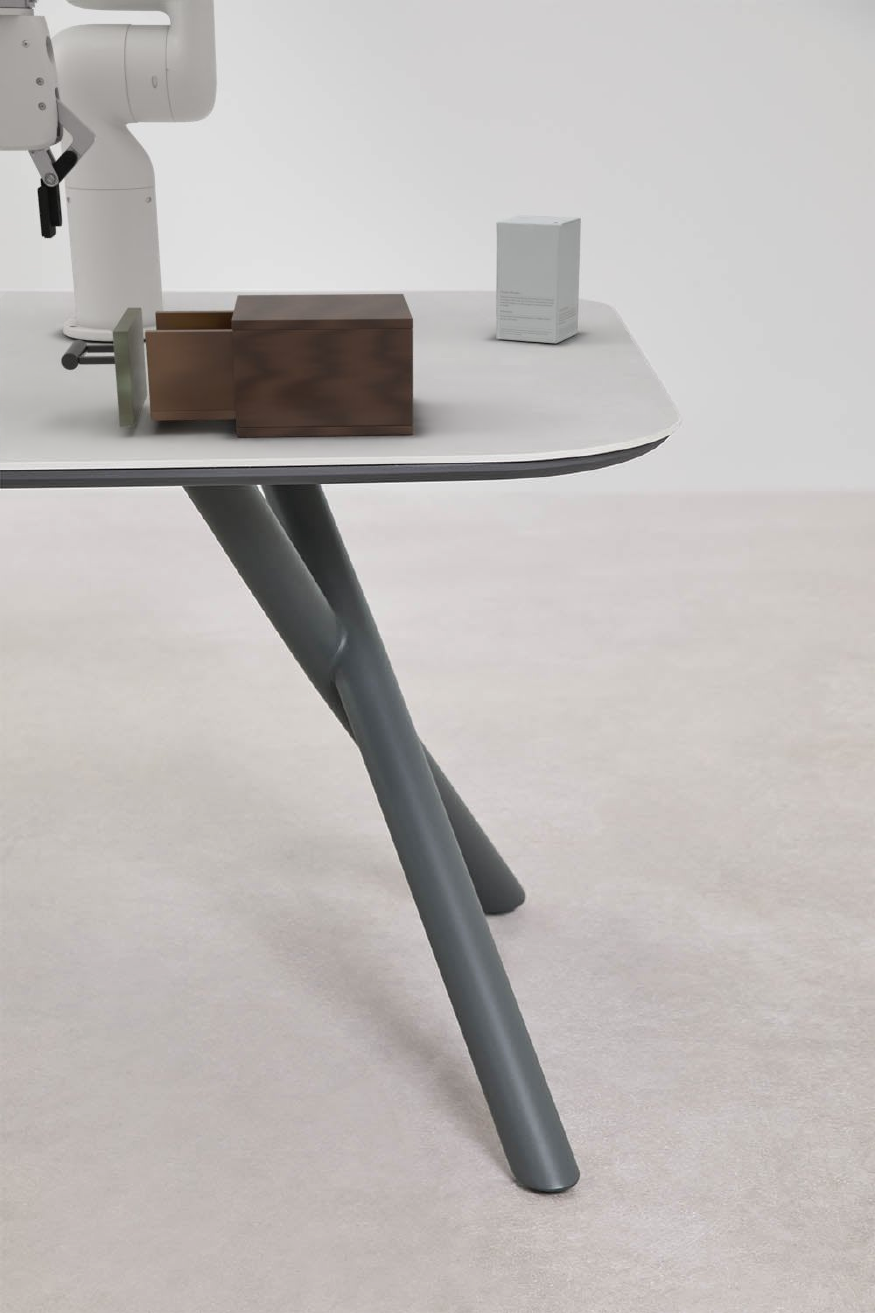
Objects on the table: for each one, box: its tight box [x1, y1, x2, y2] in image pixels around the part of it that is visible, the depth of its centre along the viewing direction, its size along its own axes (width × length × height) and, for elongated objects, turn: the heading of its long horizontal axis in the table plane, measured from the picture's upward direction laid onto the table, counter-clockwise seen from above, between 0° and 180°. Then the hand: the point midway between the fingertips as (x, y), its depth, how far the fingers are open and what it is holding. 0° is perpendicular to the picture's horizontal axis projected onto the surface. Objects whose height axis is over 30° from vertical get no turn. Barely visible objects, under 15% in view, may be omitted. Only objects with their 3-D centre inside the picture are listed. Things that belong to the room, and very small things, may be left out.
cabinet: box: [231, 293, 414, 438], centre depth 128 cm, size 15×13×10 cm
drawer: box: [60, 308, 236, 428], centre depth 127 cm, size 18×11×8 cm, turn 95°
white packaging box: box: [495, 214, 582, 344], centre depth 164 cm, size 7×7×13 cm
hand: (6, 234), depth 122 cm, fingers open, 6 cm apart
